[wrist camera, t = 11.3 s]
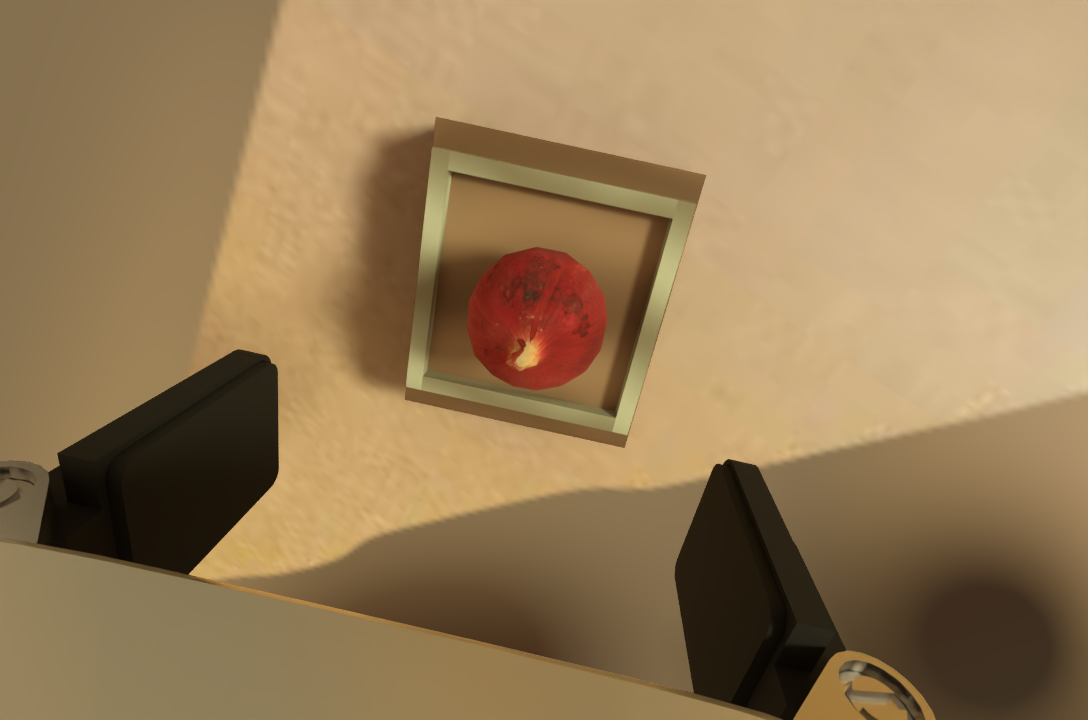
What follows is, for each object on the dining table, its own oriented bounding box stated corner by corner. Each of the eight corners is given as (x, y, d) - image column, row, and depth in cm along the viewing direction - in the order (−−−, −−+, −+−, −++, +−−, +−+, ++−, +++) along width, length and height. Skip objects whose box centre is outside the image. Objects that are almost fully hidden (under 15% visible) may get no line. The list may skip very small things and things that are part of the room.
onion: (493, 226, 24) (449, 257, 17) (616, 247, 24) (626, 288, 17) (479, 342, 27) (435, 416, 19) (592, 362, 26) (592, 444, 19)
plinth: (457, 121, 27) (430, 115, 22) (690, 171, 27) (709, 175, 22) (426, 370, 32) (399, 406, 27) (620, 413, 32) (625, 455, 27)
